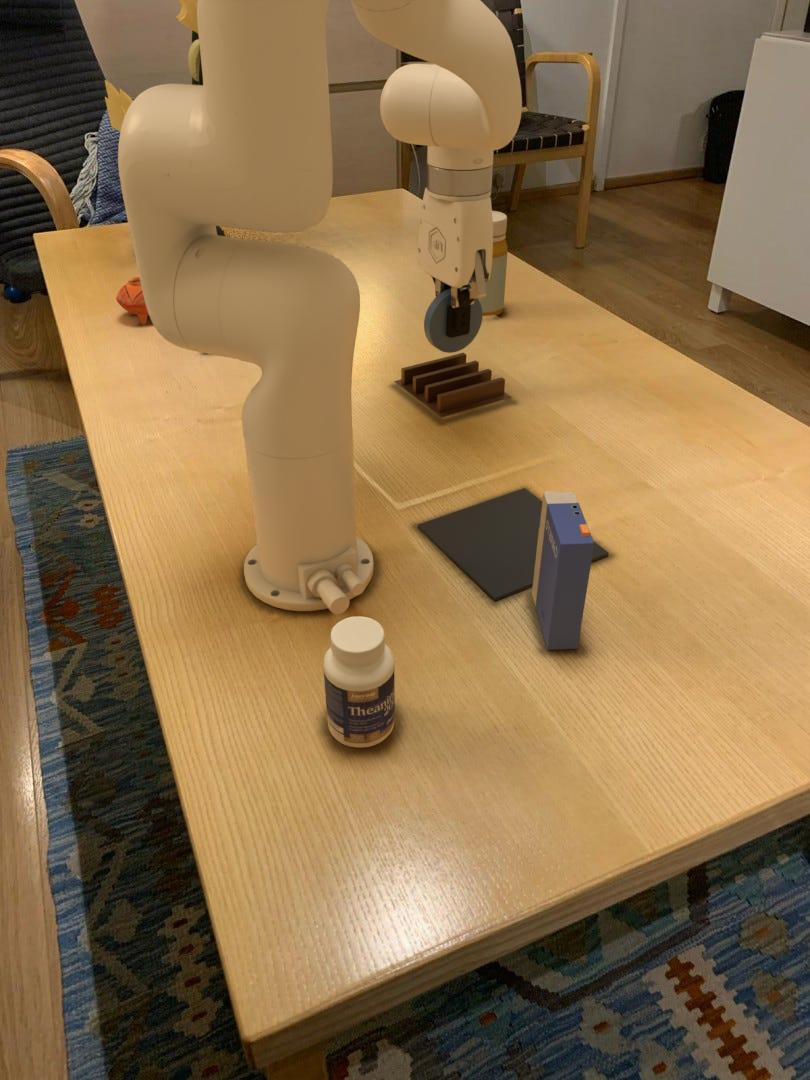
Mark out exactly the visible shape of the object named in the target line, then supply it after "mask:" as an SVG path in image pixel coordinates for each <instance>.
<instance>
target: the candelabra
mask: <svg viewBox="0 0 810 1080" xmlns="http://www.w3.org/2000/svg"><path fill="white" fill-rule="evenodd" d="M177 1H178V3H179V5H180V7H181V8H180V12H179V14H177V15H176V16H175V18H176V19H177V20H178V22H179V23H180V24H181V25H183V26H185V27H187V28H188V29H190V30H191V45H190V47H189V49H188V52H187V53H188V54H187V66H188V69H189V70H188V71H189V73H190V76H191V85H203V74H202V65H201V54H200V44H199V35H198V26H197V4H198V0H177ZM104 84H105V89H106V93H107V96H104V101H105V104H106V109H107V113H108V117H109V122H110V125H111V128H113V129H115V130H117V131H119V132H120V131H121V127H122V123H123V120H124V117H125V115H126V112H127V110H128V108H129V107H130V105H131V104H132V102H133V101H134V99H133V98H132V97H131V96H130V95H129V94H127V93H126V92H125V91H124V90H122V89H121V88H119V91H118V90H117V89H116V87H115V86H114V85H113V84H112V83H111V82H109V81H108V80H106V79H104ZM216 231H217V235H218V236H225V237H226V234H225V231H224V230H223V229H222V227H221V226H216Z"/></svg>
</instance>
